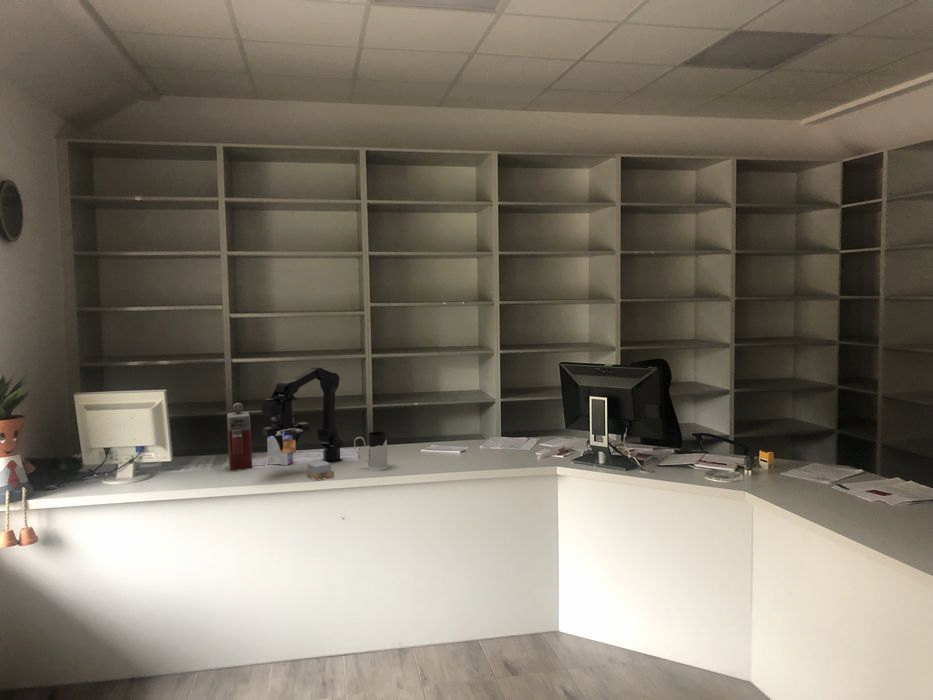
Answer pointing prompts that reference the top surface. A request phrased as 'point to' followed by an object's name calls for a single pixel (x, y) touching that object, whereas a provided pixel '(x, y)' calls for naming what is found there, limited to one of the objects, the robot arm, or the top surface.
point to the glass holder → (376, 450)
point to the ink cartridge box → (278, 452)
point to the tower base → (320, 475)
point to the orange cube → (288, 446)
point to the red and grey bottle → (239, 438)
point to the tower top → (319, 467)
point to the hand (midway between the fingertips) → (287, 449)
